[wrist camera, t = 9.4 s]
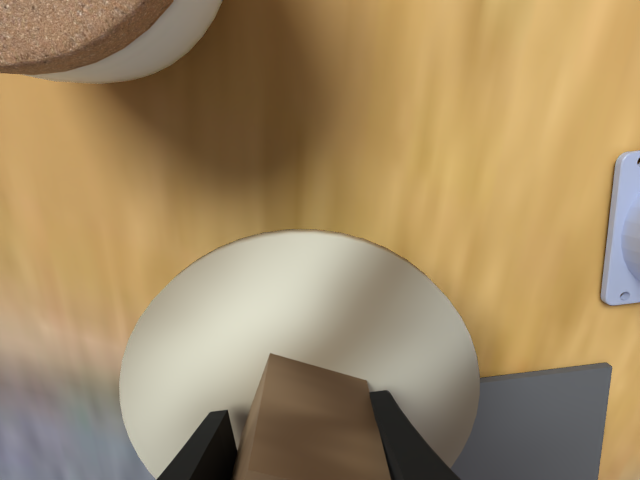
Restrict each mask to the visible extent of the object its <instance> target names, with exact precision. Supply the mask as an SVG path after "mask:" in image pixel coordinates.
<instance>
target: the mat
mask: <svg viewBox="0 0 640 480" xmlns="http://www.w3.org/2000/svg"><path fill="white" fill-rule="evenodd" d="M611 373H612V366H611V365H609V364H608V363H598V364H590V365H582V366H574V367H566V368H557V369H549V370H541V371H533V372H525V373H517V374H509V375H501V376H492V377H484V378H480V396H479V402H478V409H477V415H476V418H475V421H474V424H473V427H472V431H471V433H470V436H469V438H468V440H467V442H466V444H465V446H464V448H463V450H462V452H461V453H460V455H459V456H458V458H457V459H456V461H455V462H454V464H453V465H452V467H451V468H450V469H451V470H452V471H453V472H454V473H455V474H456V475H457V476H458V477H459V478H460V479H461V480H598V473H599V466H600V458H601V450H602V442H603V435H604V427H605V419H606V411H607V404H608V396H609V388H610V381H611Z"/></svg>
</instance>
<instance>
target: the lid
mask: <svg viewBox="0 0 640 480" xmlns="http://www.w3.org/2000/svg"><path fill="white" fill-rule="evenodd" d="M119 383H120V405H121V410H122V416H123V421H124V424H125V427H126V430H127V433H128V436H129V439H130V441H131V443H132V445H133V447H134V449H135V450H136V452H137V454H138V456H139V458H140V459H141V461H142V462H143V464H144V465H145V466H146V468H147V469H148V471H149V472H150V473H151V474H152V475H153V477H154V478H155V479H157V478H158V477H159V476H160V475H161V474H162V472H163V471H164V470H165V469H166V467H167V466H168V465H169V464H170V462H171V461H172V460H173V459H174V457H175V456H176V455H177V454H178V452H179V451H180V450H181V449H182V447H183V446H184V445H185V444H186V442H187V441H188V440H189V438H190V437H191V436H192V434H193V433H194V432H195V430H196V429H197V428H198V427H199V425H200V424H201V423H202V421H203V420H204V419H205V418H206V416H207V415H208V414H209V413H210V412H212V411H220V410H228V413H229V417H230V422H231V426H232V430H233V435H234V439H235V443H236V448H237V455H236V460H235V464H234V468H233V472H232V477H231V480H391V477H390V473H389V469H388V465H387V461H386V457H385V453H384V449H383V445H382V441H381V437H380V432H379V429H378V426H377V423H376V420H375V417H374V412H373V408H372V404H371V400H370V395H369V392H375V391H383V390H388V391H389V392H390V393H391V395H392V396H393V398H394V400H395V401H396V403H397V404H398V406H399V407H400V409H401V410H402V412H403V413H404V414H405V416H406V417H407V418H408V420H409V421H410V422H411V424H412V425H413V426H414V428H415V429H416V430H417V431H418V433H419V434H420V435H421V436H422V437H423V439H424V440H425V441H426V442H427V444H428V445H429V446H430V447H431V448H432V449H433V450H434V452H435V453H436V454H437V455H438V456H439V457H440V458H441V459H442V460H443V461H444V463H445V464H446V465H447V466H448V467H449V468H451V467H452V465H453V464H454V462H455V461H456V459H457V458H458V456H459V455H460V453H461V452H462V450H463V448H464V446H465V444H466V442H467V440H468V438H469V436H470V433H471V431H472V427H473V424H474V421H475V418H476V415H477V409H478V402H479V396H480V374H479V367H478V361H477V355H476V352H475V349H474V345H473V342H472V339H471V336H470V334H469V332H468V330H467V328H466V326H465V324H464V322H463V320H462V318H461V316H460V315H459V313H458V312H457V311H456V309H455V308H454V306H453V305H452V304H451V302H450V301H449V299H448V298H447V297H446V296H445V295H444V294H443V293H442V292H441V290H440V289H439V288H438V287H437V286H436V285H435V284H434V283H433V282H432V281H431V280H430V279H429V278H428V277H427V276H426V275H425V274H424V273H423V272H422V271H420V270H419V269H418V268H417V267H415V266H414V265H413V264H411V263H410V262H409V261H408V260H406V259H405V258H403V257H401V256H399V255H398V254H396V253H394V252H392V251H391V250H389V249H387V248H385V247H383V246H380V245H378V244H375V243H373V242H371V241H368V240H366V239H363V238H359V237H355V236H351V235H348V234H344V233H340V232H332V231H325V230H317V229H288V230H280V231H272V232H264V233H260V234H257V235H253V236H249V237H245V238H241V239H238V240H236V241H234V242H231V243H229V244H226V245H224V246H221V247H219V248H217V249H215V250H213V251H211V252H210V253H208V254H206V255H204V256H203V257H201V258H199V259H197V260H196V261H195V262H193V263H192V264H191V265H189V266H188V267H187V268H186V269H184V270H183V271H182V272H180V273H179V274H178V275H177V276H176V277H175V278H174V279H173V280H172V281H171V282H170V283H169V284H168V285H167V286H166V287H165V288H164V289H163V290H162V291H161V292H160V293H159V294H158V295H157V296H156V297H155V298H154V299H153V300H152V302H151V303H150V304H149V306H148V307H147V309H146V310H145V311H144V313H143V314H142V316H141V317H140V318H139V320H138V322H137V324H136V326H135V328H134V330H133V332H132V334H131V336H130V338H129V340H128V344H127V347H126V350H125V353H124V356H123V359H122V366H121V373H120V380H119Z"/></svg>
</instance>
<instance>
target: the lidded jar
mask: <svg viewBox="0 0 640 480" xmlns="http://www.w3.org/2000/svg"><path fill="white" fill-rule="evenodd" d="M222 1H223V0H0V73H9V74H21V75H26V76H30V77H35V78H40V79H45V80H51V81H58V82H74V83H90V84H104V83H113V82H122V81H129V80H135V79H138V78H142V77H145V76H149V75H152V74H154V73H156V72H158V71H160V70H162V69H164V68H166V67H168V66H170V65H172V64H173V63H175V62H176V61H177V60H179V59H180V58H181V57H183V56H184V55H185V54H187V53H188V52H189V51H190V50H191V49H192V48H193V47H194V45H195V44H196V43H197V42H198V41H199V40H200V39H201V38H202V37H203V35H204V34H205V32H206V31H207V29H208V28H209V26H210V25H211V23H212V22H213V20H214V19H215V17H216V14H217V12H218V10H219V8H220V5H221V3H222Z"/></svg>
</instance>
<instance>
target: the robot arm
mask: <svg viewBox="0 0 640 480" xmlns="http://www.w3.org/2000/svg"><path fill="white" fill-rule="evenodd" d="M639 158H640V150H638V151H630V152H625V153H622V154H621V155H620V156H619V157H618V158H617V160H616V164H615V172H614V181H613V190H612V199H611V208H610V217H609V226H608V235H607V244H606V253H605V262H604V271H603V280H602V289H601V300H602V301H603V302H605V303H607V304H609V305H613V306H614V305H622V304H630V303H638V302H640V163H639V164H638V165H637V161H638V159H639ZM622 293H623V294H622ZM621 294H622V296H621V297H620V295H621ZM369 395H370V400H371V404H372V408H373V412H374V417H375V420H376V423H377V426H378V429H379V432H380V437H381V441H382V445H383V449H384V453H385V457H386V461H387V465H388V469H389V473H390V477H391V480H461V479H460V478H459V477H458V476H457V475H456V474H455V473H454V472H453V471H452V470H451V469H450V468H449V467H448V466H447V465H446V464H445V463H444V461H443V460H442V459H441V458H440V457H439V456H438V455H437V454H436V453H435V452H434V450H433V449H432V448H431V447H430V446H429V445H428V444H427V442H426V441H425V440H424V439H423V437H422V436H421V435H420V434H419V433H418V431H417V430H416V429H415V428H414V426H413V425H412V424H411V422H410V421H409V420H408V418H407V417H406V416H405V414H404V413H403V412H402V410H401V409H400V407H399V406H398V404H397V403H396V401H395V400H394V398H393V396H392V395H391V393H390V392H389V391H388V390H383V391H375V392H369ZM236 455H237V448H236V443H235V439H234V435H233V430H232V426H231V422H230V417H229V413H228V410H220V411H212V412H210V413H209V414H208V415H207V416H206V418H205V419H204V420H203V421H202V423H201V424H200V425H199V427H198V428H197V429H196V430H195V432H194V433H193V434H192V436H191V437H190V438H189V440H188V441H187V442H186V444H185V445H184V446H183V447H182V449H181V450H180V451H179V452H178V454H177V455H176V456H175V457H174V459H173V460H172V461H171V462H170V464H169V465H168V466H167V467H166V469H165V470H164V471H163V472H162V474H161V475H160V476H159V477H158V478H157V479H156V480H231V477H232V472H233V468H234V464H235V460H236Z"/></svg>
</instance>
